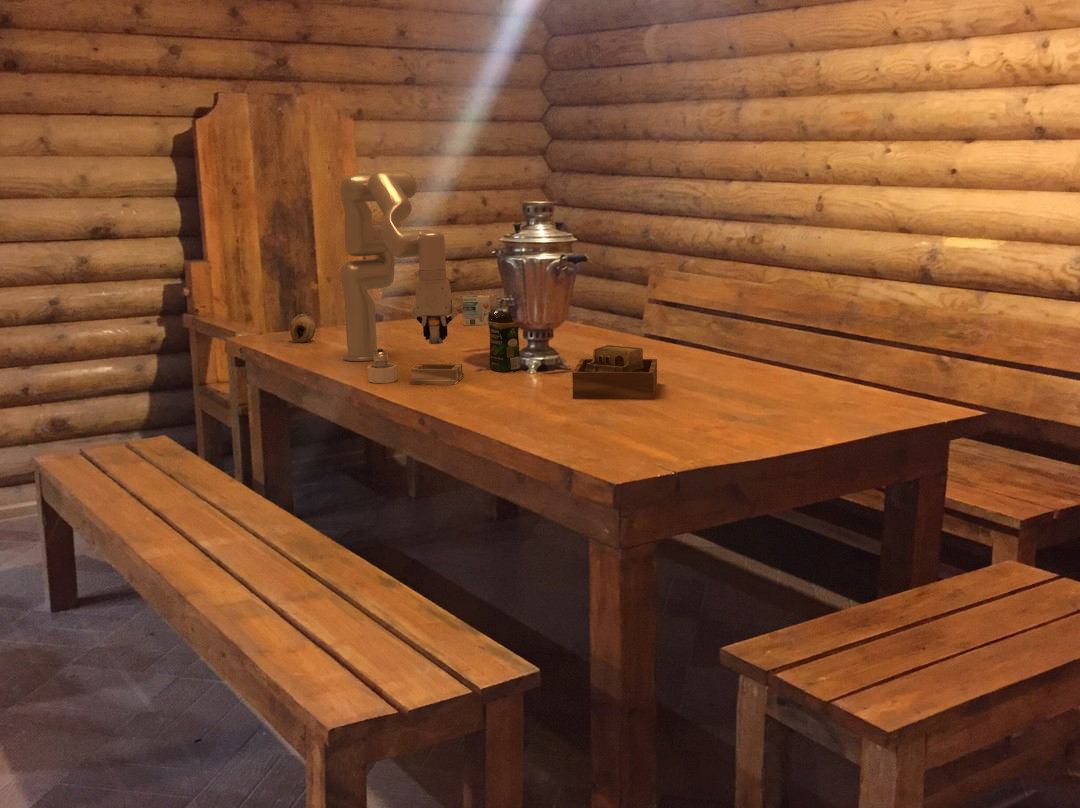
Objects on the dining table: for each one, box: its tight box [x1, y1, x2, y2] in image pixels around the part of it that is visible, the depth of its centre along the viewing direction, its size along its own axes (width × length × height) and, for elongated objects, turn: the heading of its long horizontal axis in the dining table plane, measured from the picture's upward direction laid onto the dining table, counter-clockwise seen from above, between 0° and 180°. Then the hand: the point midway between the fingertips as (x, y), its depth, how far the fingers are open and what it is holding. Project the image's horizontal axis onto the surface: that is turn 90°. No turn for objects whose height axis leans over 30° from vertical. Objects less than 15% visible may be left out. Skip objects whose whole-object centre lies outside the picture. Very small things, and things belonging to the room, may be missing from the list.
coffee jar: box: [488, 308, 521, 373], centre depth 347 cm, size 10×8×19 cm
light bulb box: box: [462, 294, 491, 326], centre depth 440 cm, size 11×7×11 cm, turn 95°
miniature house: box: [584, 344, 645, 372], centre depth 316 cm, size 15×14×11 cm
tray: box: [409, 363, 464, 386], centre depth 335 cm, size 12×13×4 cm
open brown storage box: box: [572, 358, 658, 400], centre depth 315 cm, size 20×21×7 cm
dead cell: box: [373, 348, 389, 368], centre depth 336 cm, size 4×4×9 cm
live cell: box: [428, 316, 444, 345], centre depth 332 cm, size 4×4×9 cm
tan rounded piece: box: [289, 313, 317, 344], centre depth 407 cm, size 10×8×10 cm
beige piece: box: [367, 363, 398, 384], centre depth 336 cm, size 8×8×4 cm
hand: (435, 338), depth 333 cm, fingers closed on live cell, 4 cm apart
